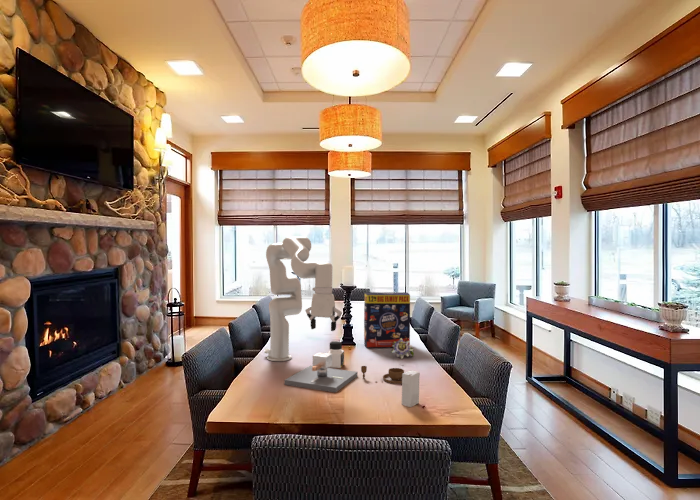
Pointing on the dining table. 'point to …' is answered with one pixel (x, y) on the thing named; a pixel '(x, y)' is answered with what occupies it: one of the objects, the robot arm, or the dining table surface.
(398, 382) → the tea set
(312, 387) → the base board
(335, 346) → the medicine bottle
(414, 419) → the dining table surface
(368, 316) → the cereal box
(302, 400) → the dining table surface
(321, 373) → the steel post
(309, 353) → the dining table surface
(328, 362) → the mallet
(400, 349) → the passion flower
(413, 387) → the skincare box
